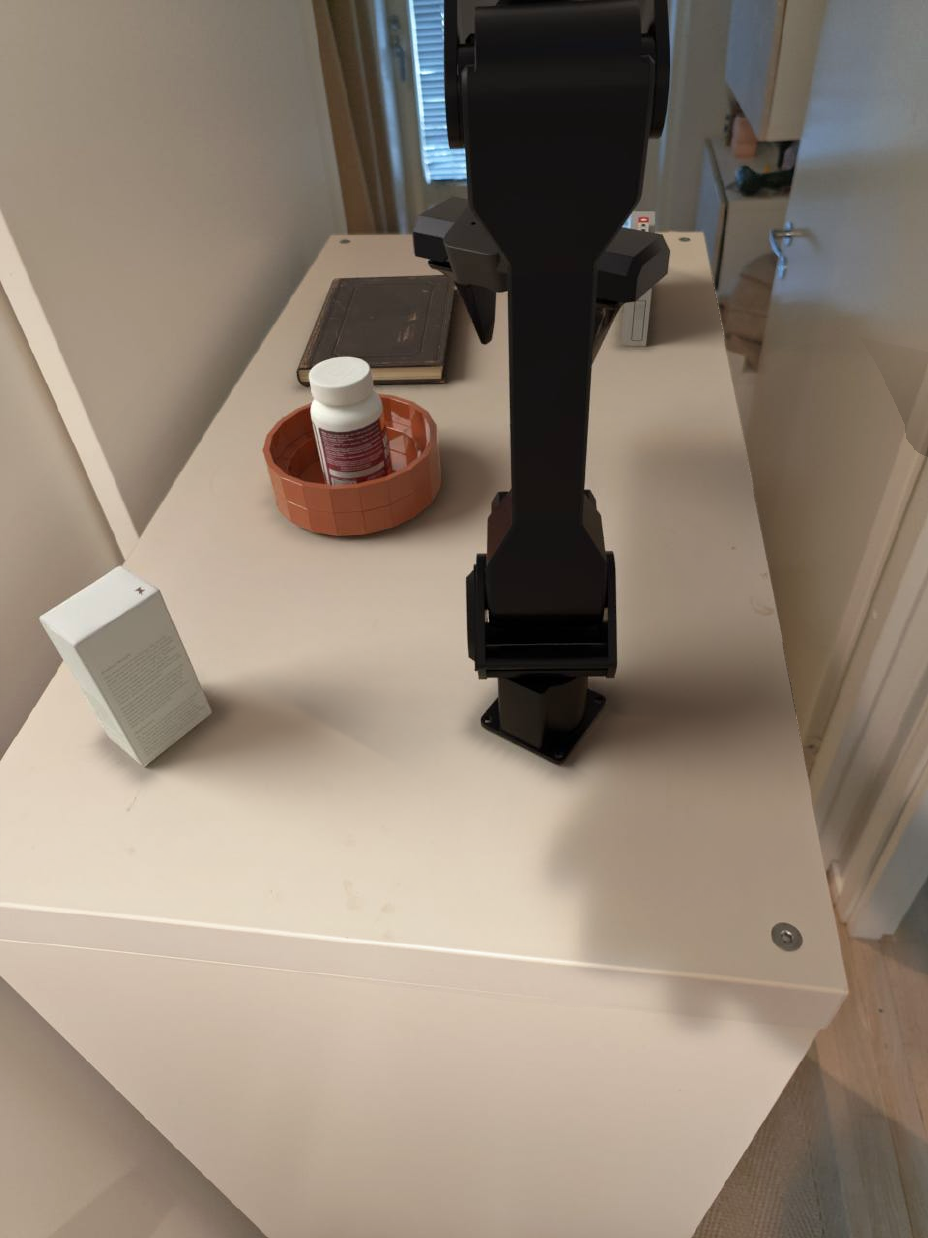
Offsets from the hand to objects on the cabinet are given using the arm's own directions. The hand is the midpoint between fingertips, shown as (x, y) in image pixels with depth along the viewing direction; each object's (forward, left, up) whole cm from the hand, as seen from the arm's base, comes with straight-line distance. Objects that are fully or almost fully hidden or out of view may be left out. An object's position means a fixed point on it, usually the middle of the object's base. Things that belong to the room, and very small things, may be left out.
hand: (534, 355), depth 67 cm
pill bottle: (-8, +14, -13) cm, 20 cm away
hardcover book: (+17, +31, -13) cm, 38 cm away
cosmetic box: (-37, +8, -13) cm, 40 cm away
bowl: (-8, +14, -13) cm, 21 cm away
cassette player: (+36, +8, -13) cm, 39 cm away
